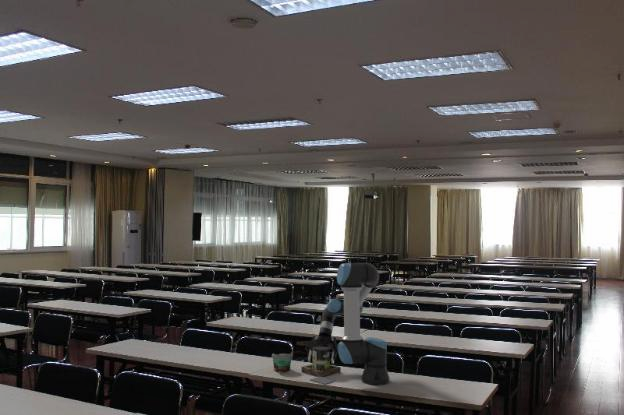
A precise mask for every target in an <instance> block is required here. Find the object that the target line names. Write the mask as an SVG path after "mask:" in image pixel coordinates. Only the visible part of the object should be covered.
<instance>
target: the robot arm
mask: <svg viewBox="0 0 624 415" xmlns="http://www.w3.org/2000/svg"><path fill="white" fill-rule="evenodd" d="M336 281H337V284H338V285H340V289H341V290H343V301H340V300H338V299H336V298H332V299H330V300H329V302H328V303H327V304H326V307H324V309H323V311H322V316H321V322H320V327H319V332H318V336H315V335H313V336H312V338H311V340H310V341H309V342H308V344H307V345H306V346H305V351H306V352H307V353H306V355H307V362H308V363H311V358H312V355H313V349H312V348H313V347H315V346H328V347H330V350H332V353H331V358H330V364H331V365H333V364H334V359H336V358H337V354H338V356H339V360H340V362H341V363H342V364H345V365H352V364H364V369H363V370H362V371H363V372H362V375H361V382H362V383H364V384H367V383H368V385H373V384H382V385H386V384H385V383H387V384H389V383H390V374H389V372H388V369H387V353H388V352H387V350H388V349H387V348H388V346H387V342H386V340H384V339H381V338H378V337H369V336H368V337H365V340H364V337H363V336H362V335H361V315H360V314H362V313H363V309H364V305H363V303H364V302H365V301H366V299H367V297H368V296H369V294H370V292H371V291H372V289H374V288H375V287H376V286H377V284H378V283H379V281H380V274H379V270H378V269H377V267H376V266H375V265H373V264H372V263H369V262H345V263H341V264H340V265H339V267H338V269H337V273H336ZM337 315H339V316H340V315H341V316H342V315H343V330H344V331H343V332H344V333H343V336H342V337H341V341H340V342H339V343H338V342H337V338H336V337H335V336H333V337H332V335H333V328H334V323H335V322H334V321H335V319H336V317H337ZM331 342H332V343H334V345H332V343H331ZM334 346H335V347H334ZM388 382H389V383H388Z"/></svg>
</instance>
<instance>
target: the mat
mask: <svg viewBox="0 0 624 415" xmlns="http://www.w3.org/2000/svg"><path fill="white" fill-rule="evenodd" d="M309 381H310V382H313V383H318V384H320V385H324V386H325V385H329V384H331V383H332V384H333V383H335V382H336V380H335V379H330V378H329V377H328V378H327V377H318V376H316V377H315V378H310V379H309Z"/></svg>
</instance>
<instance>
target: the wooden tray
mask: <svg viewBox="0 0 624 415" xmlns="http://www.w3.org/2000/svg"><path fill="white" fill-rule="evenodd" d="M341 369H342V367H341V366H337V365H333V364H330V369H328V370H325V371H319V370H315V369H312V364H308V365H303V366H301V373H303V374H307V375H310V376H311V375H312V376H315V377H324V378H327V377H329V376H333V375H337V374H339V373H342V371H341Z"/></svg>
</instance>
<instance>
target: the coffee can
mask: <svg viewBox="0 0 624 415" xmlns="http://www.w3.org/2000/svg"><path fill="white" fill-rule="evenodd" d="M312 349H313V350H312V362H311V363H312V369H315V370H319V371H325V370H328V369H330V365H331V348H330V346H328V345H319V346H315V347H313V348H312Z"/></svg>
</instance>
